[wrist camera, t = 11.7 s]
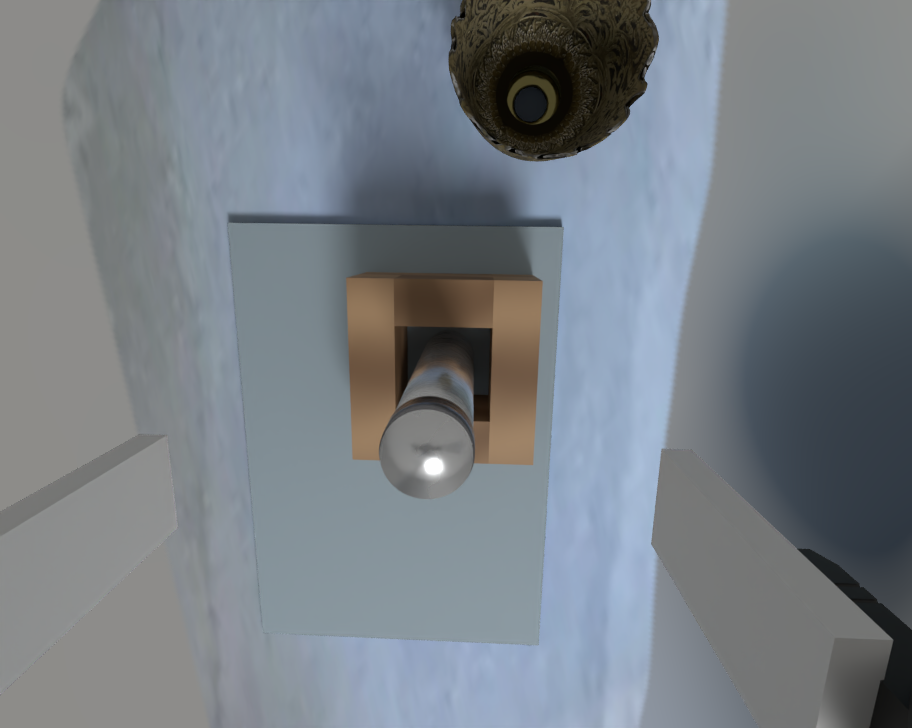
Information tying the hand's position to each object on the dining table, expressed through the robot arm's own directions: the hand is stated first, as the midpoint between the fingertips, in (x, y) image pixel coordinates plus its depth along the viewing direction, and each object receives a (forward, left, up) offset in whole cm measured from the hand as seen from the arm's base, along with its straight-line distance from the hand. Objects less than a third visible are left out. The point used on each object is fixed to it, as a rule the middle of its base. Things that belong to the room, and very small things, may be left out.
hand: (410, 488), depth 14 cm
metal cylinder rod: (0, 0, -16) cm, 16 cm away
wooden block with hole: (0, 0, -16) cm, 16 cm away
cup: (+13, -4, -16) cm, 21 cm away
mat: (-6, +3, -16) cm, 17 cm away
